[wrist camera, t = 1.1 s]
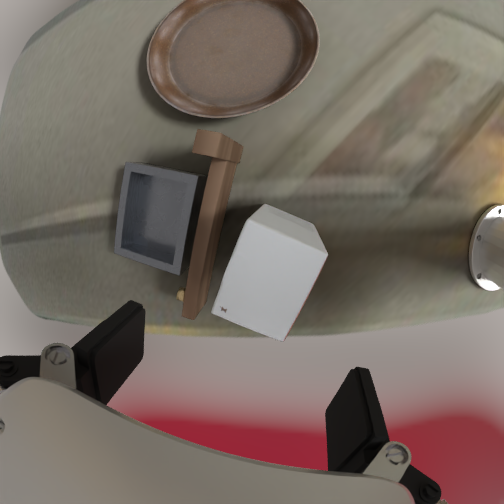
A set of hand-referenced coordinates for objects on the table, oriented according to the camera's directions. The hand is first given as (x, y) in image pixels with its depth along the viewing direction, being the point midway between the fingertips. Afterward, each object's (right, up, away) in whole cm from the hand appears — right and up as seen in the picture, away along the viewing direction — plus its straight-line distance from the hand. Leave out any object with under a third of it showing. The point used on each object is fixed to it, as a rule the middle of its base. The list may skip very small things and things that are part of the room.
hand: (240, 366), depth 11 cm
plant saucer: (-2, +30, +16) cm, 34 cm away
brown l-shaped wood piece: (-4, +8, +22) cm, 23 cm away
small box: (+3, +6, +21) cm, 22 cm away
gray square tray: (-11, +10, +22) cm, 26 cm away
